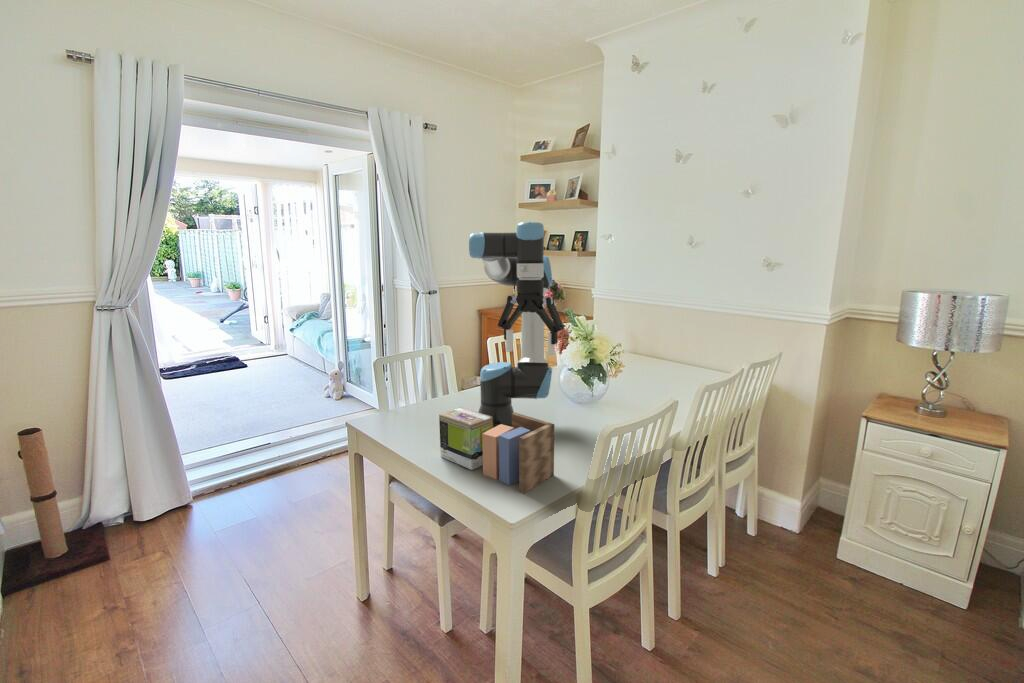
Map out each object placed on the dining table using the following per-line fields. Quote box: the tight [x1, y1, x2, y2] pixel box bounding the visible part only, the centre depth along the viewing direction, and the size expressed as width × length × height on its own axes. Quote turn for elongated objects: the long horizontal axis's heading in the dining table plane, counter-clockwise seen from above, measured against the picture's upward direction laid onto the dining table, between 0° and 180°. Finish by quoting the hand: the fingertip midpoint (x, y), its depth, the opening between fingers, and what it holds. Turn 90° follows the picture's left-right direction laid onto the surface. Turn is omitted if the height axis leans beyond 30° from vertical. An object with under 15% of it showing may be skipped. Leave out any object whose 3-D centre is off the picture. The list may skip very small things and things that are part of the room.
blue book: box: [498, 427, 531, 486], centre depth 138 cm, size 9×4×14 cm, turn 135°
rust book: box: [482, 424, 514, 480], centre depth 142 cm, size 9×5×13 cm, turn 144°
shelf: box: [512, 412, 555, 494], centre depth 139 cm, size 14×15×16 cm
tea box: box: [438, 406, 493, 471], centre depth 150 cm, size 15×10×15 cm
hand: (529, 353), depth 137 cm, fingers open, 13 cm apart
